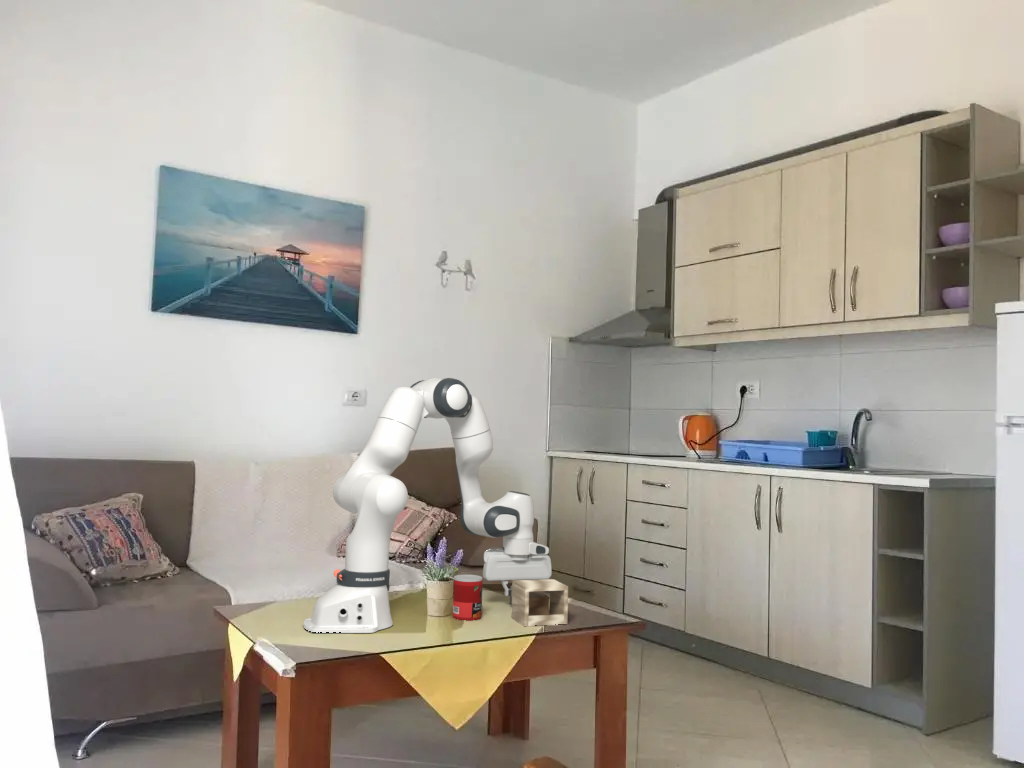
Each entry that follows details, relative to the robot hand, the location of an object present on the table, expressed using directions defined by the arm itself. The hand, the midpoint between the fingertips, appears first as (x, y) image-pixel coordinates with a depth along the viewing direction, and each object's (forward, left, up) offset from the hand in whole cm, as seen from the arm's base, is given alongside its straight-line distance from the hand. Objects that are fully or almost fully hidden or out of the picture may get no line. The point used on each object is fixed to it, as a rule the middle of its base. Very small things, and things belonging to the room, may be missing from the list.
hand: (516, 595), depth 248 cm
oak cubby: (0, -19, -3) cm, 20 cm away
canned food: (-18, -12, -3) cm, 22 cm away
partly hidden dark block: (0, -8, -3) cm, 8 cm away
